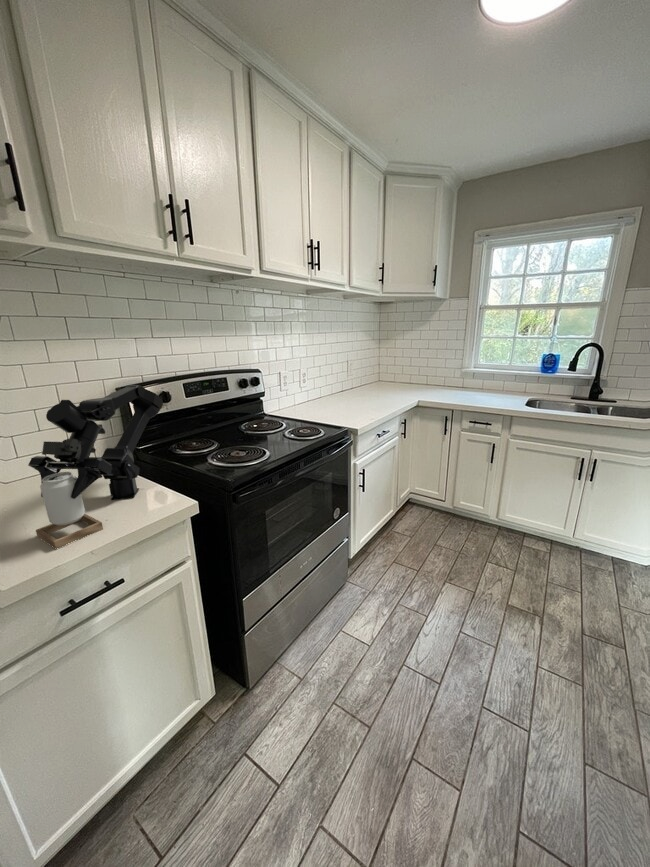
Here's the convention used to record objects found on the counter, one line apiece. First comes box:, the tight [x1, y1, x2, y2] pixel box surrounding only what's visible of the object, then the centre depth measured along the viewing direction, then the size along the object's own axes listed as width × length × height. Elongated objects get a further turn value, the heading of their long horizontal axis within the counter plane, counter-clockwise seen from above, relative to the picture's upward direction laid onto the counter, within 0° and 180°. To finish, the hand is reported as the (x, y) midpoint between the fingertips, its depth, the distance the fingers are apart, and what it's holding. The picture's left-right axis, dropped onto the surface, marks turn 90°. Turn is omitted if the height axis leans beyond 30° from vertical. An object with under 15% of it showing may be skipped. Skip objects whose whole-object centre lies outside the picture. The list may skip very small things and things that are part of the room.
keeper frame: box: [35, 513, 104, 550], centre depth 90 cm, size 11×11×2 cm
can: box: [39, 471, 86, 525], centre depth 88 cm, size 8×8×12 cm
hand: (58, 497), depth 86 cm, fingers closed on can, 7 cm apart
